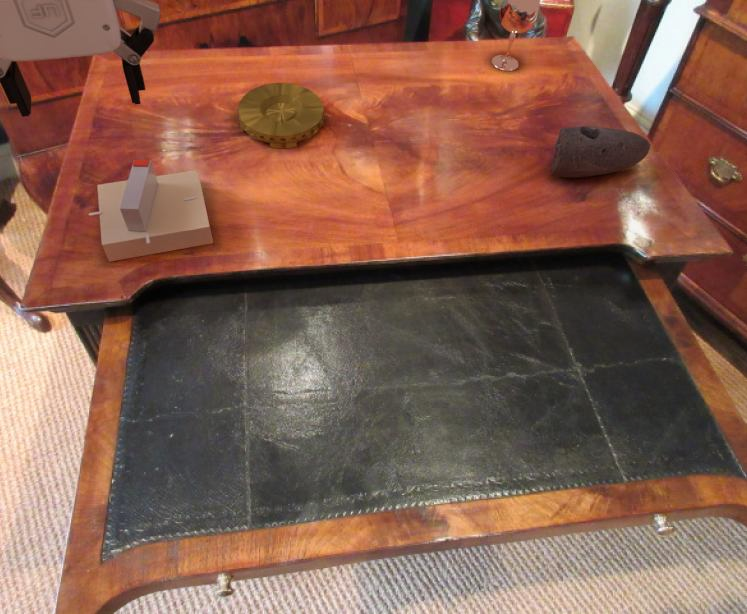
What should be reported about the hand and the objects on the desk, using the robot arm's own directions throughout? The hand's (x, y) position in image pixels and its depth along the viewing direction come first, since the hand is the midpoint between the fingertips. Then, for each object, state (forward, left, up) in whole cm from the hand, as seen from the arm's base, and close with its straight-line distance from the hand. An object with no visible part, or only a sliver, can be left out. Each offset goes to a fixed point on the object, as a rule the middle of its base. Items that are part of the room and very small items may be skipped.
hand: (82, 101), depth 57 cm
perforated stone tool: (+62, -2, -19) cm, 65 cm away
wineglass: (+61, +25, -19) cm, 69 cm away
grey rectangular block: (+2, +2, -16) cm, 16 cm away
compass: (+22, +18, -19) cm, 34 cm away
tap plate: (+3, +2, -19) cm, 20 cm away
